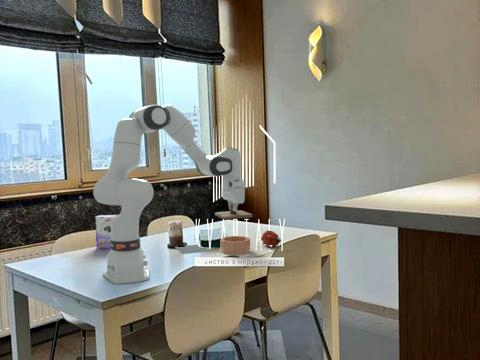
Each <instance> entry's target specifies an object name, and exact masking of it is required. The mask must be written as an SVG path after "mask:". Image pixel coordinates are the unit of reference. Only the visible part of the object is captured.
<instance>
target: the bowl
mask: <svg viewBox="0 0 480 360" xmlns="http://www.w3.org/2000/svg"><path fill="white" fill-rule="evenodd" d="M219 245H220V247H219V249H220V252H221V253H222V254H227V255H228V254H229V255H241V253H242V254H246V253H245V252H247V251H249V250H250V251H251V238H250V237H247V236H244V235H243V236H242V235H230V236H224V237H222V238H220V239H219ZM247 253H248V252H247Z"/></svg>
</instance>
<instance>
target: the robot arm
mask: <svg viewBox="0 0 480 360" xmlns="http://www.w3.org/2000/svg"><path fill="white" fill-rule="evenodd" d="M160 130H162V131H164V132H165V133H166V134H167V135H168V136H169V137H170V138H171V139H172V140H173V141H174V142H175V143H176V144H178V145H179V147H181V149H182V150H183V151H184V152H185V153H186V154H187V155H188V156H189V158H191V160H192V161H193V163H194V164H195V168H196V170H197V172H198V173H199V174H200V175H202V176H206V177H207V176H209V177H221V176H222V182H223V183H222V189H221V190H222V199H223V200H225V201H227V203H228V209H229V210H230V205H233V211H234V212H235V211H237V210H238V206H239V204H240V205H241V204H244V203H245V197H246V195H245V194H246V191H245V190H246V189H245V188H246V182H245V180H243V177H242V176H243V175H242V171H241V169H242V156H241V151H240V150H239V149H237V148H232V147H224V148H223V150H221V151H220V152H219V153H217V154H214V155H210V154H207V153H205V152H204V151H203V150H202V149H201V148H200V146H199V145H198V144H197V143H196V141H195V140H194V139H195V137H196V132H197V131H196V128H195V127H194V125H193V123H192V122H191V121H190V120H189V119H188V118H187V117H186V115H185V114H183V113H182V112H181V111H180V110H179V109H177V108H176V107H174V106H173V105H171V104H165V105H163V106H161V105H157V104H151V105H147V106H143V107H140V108H138V109H136V110H134V111H133V112H132V113H131V114H130V115H129V117H127V118H122V119H120V120H118V123H117V125H116V128H115V131H114V132H115V133H114V137H113V143H112V145H113V147H112V154H111V161H110V164H109V167H108V169H107V171H106V172H105V174H104V176H102V177H101V178H100V179H99V180H98V181H96V183H95V185H94V186H93V191H92V192H93V193H92V194H93V197H94V199H95V200H96V202H97V203H99V204H103V205H107V206H121V210H120V212H119V214H116V215H117V216H115V217H114V218H113V219H112V221H111V240H110V248H111V249H110V251H109V252H108V253H107V254H106V271H103V272H102V276H103V277H105V278H106V279H108V281H110V282H111V283H112V284H117V285H118V284H131V283H140V282H144V281H148V280H150V267H149V266H148V259H146V257H147V256H146V254H144V250H143V249H142V248H141V247H142V246H141V239H140V233H139V227H140V226H139V225H140V217H141V214H142V212H143V210H144V208H145V207H147V205H149V204H150V203H151V201H152V200H153V198H154V193H155V192H154V187H153V185H152V184H151V182H150V181H148V180H144V179H141V178H140V179H139V178H128V176H129V174H130V173H131V171H133V170H135V169H136V168H138V166H139V165H140V161H141V149H142V148H141V147H142V138H143V135H145V134H151V133H155V132H156V131H160Z"/></svg>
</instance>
